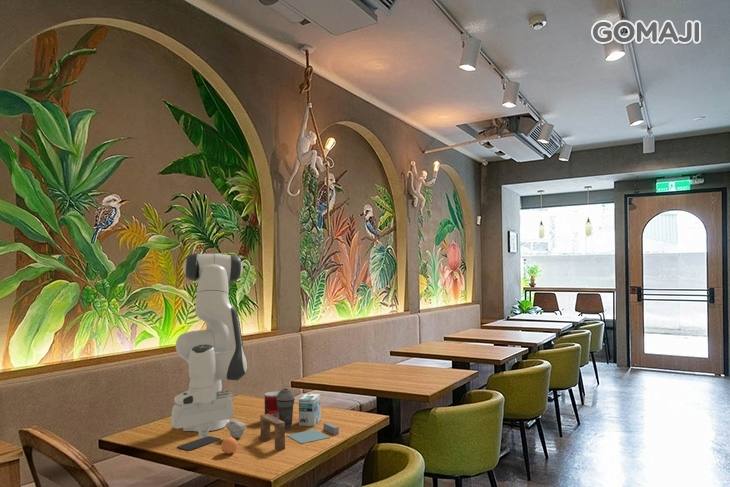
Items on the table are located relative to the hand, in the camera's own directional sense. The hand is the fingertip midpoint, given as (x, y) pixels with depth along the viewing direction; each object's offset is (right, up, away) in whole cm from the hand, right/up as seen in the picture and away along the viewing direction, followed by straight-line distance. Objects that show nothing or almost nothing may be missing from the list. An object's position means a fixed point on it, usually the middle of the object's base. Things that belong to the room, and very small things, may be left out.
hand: (203, 437), depth 176 cm
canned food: (+16, -10, +46) cm, 50 cm away
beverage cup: (+22, -9, +33) cm, 41 cm away
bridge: (+20, -8, +15) cm, 26 cm away
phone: (-7, -9, +17) cm, 20 cm away
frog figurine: (+5, -9, +22) cm, 25 cm away
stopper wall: (+41, -8, +28) cm, 50 cm away
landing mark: (+32, -8, +23) cm, 40 cm away
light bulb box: (+31, -9, +41) cm, 53 cm away
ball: (+7, -5, +6) cm, 10 cm away
